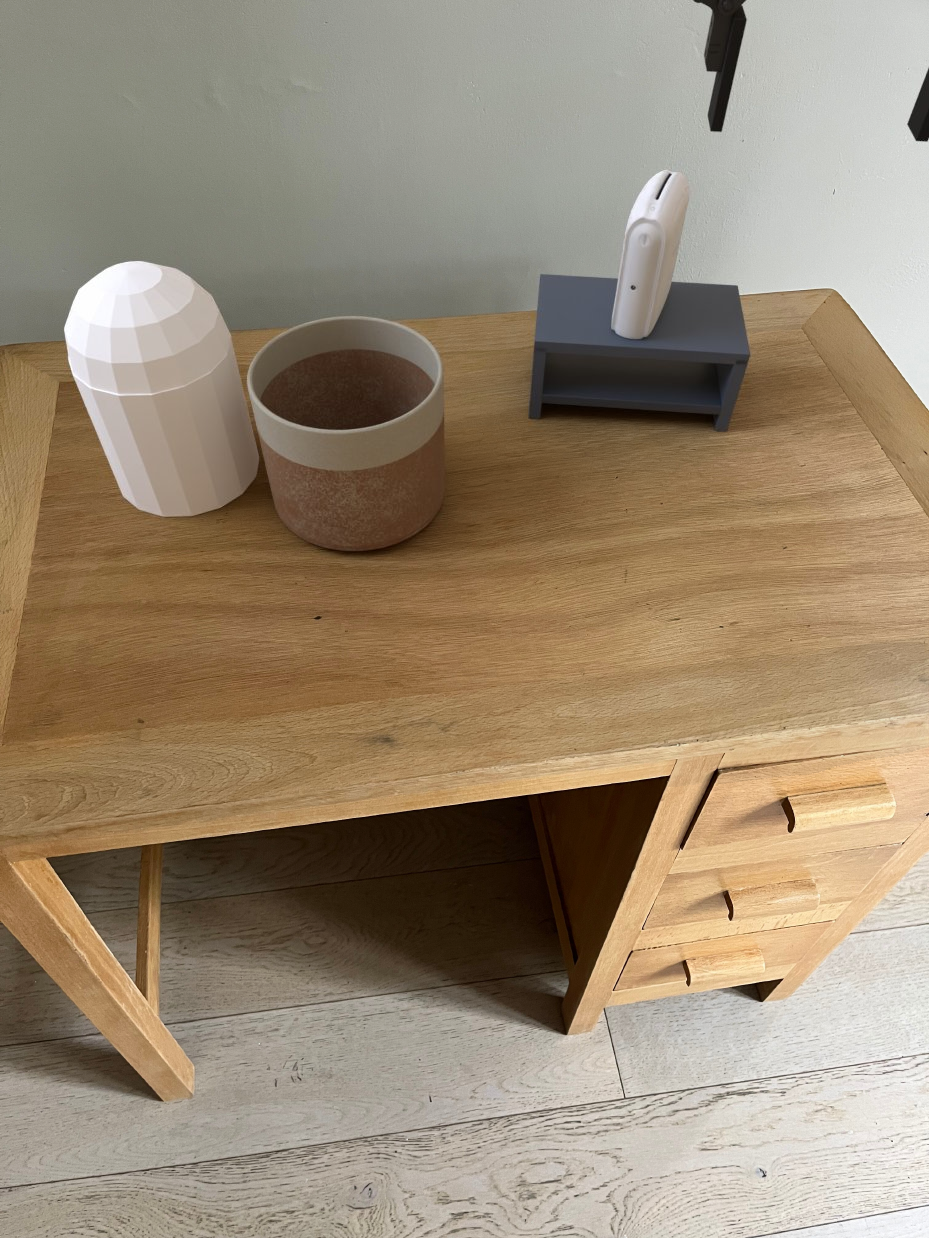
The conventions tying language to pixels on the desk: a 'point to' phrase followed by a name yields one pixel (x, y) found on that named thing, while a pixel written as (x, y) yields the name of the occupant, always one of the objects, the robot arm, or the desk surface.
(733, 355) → the shelf
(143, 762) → the desk surface
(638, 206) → the photo printer
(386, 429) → the planter
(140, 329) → the container
